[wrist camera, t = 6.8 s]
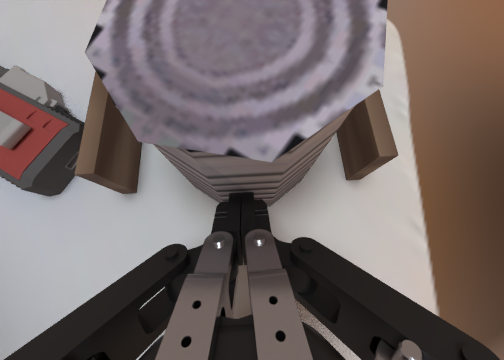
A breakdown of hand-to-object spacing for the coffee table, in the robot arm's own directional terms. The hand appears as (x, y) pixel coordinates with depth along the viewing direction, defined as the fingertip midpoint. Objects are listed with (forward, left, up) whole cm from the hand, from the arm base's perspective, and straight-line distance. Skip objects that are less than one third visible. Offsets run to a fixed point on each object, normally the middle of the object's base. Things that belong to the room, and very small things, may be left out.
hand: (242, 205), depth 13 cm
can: (0, +6, -4) cm, 7 cm away
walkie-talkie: (-21, +10, -5) cm, 24 cm away
